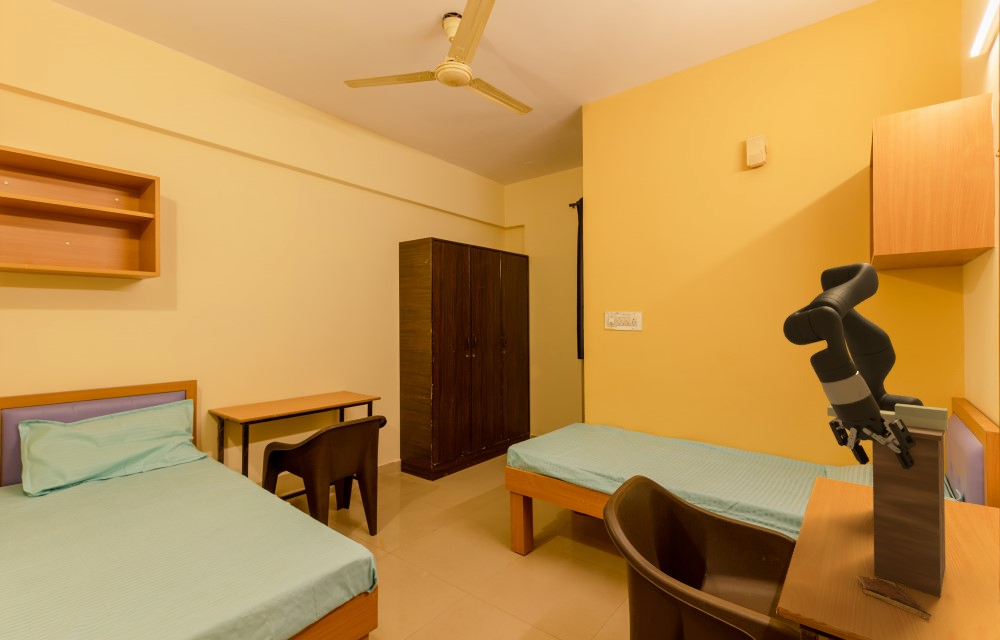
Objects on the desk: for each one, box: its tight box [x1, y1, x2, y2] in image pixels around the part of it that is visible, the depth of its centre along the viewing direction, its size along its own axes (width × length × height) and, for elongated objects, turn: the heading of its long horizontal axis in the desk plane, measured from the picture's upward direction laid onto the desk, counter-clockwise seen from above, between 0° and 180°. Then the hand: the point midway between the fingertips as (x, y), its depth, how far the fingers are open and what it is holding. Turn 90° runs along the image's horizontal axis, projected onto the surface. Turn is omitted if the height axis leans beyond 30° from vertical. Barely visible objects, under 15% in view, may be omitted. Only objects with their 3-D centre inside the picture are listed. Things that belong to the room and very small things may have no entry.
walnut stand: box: [871, 425, 946, 598], centre depth 95 cm, size 17×11×32 cm, turn 132°
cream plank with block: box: [826, 404, 949, 432], centre depth 98 cm, size 4×20×4 cm, turn 42°
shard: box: [857, 575, 932, 620], centre depth 86 cm, size 11×8×2 cm
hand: (886, 465), depth 93 cm, fingers open, 8 cm apart
